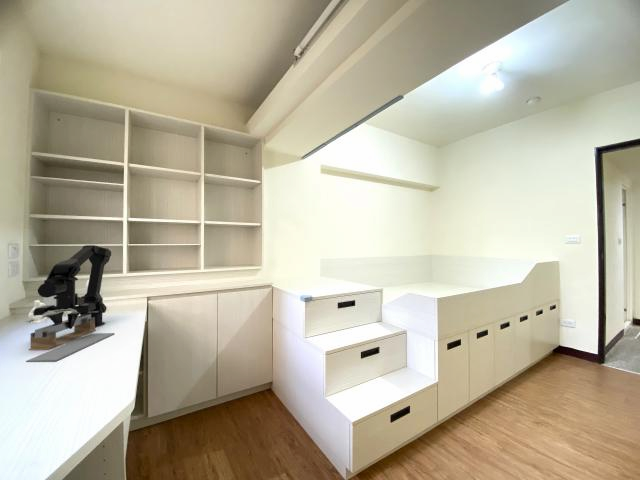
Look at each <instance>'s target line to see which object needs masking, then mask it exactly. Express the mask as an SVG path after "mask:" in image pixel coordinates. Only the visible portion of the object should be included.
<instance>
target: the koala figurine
mask: <svg viewBox="0 0 640 480" xmlns="http://www.w3.org/2000/svg"><path fill="white" fill-rule="evenodd" d="M33 304H34V306H33V308H32V309H30V311H29V313H28V319H29V320H33V321H30V322H31V323H32V322H33V323H41V322H44V321H46V320H47V319H48V318H47V317H44V318H43V316H44V314H43V315H36V316H34V315H33V311H34V310H35V309H36V308H39V307H42V306H46V304H44V302H41V301H40V300H39V299H37V300H33ZM33 323H32V324H33Z"/></svg>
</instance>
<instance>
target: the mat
mask: <svg viewBox="0 0 640 480" xmlns="http://www.w3.org/2000/svg"><path fill="white" fill-rule="evenodd" d="M114 335H115V333H114V332H107V333H106V332H103V333H101V332H100V333H99V332H97V333H96V332H92V333H90V334H87V335H85V336H82V337H80V338H77V339H75V340H73V341H70V342H68V343H65V344H63V345H60V346H58V347H55V348H53V349H50V350H47V351H46V352H44V353H41V354H39V355H37V356H34V357H31V358H29V359H27V360H25V362H26V363H55V362H56V363H57V362H58V361H61V360H63V359H65V358H68V357H69V356H71V355H74V354H75V353H78V352H79V351H81V350H85V349H86V348H89V347H91V346H93V345H95V344H97V343H99V342H101V341H103V340H105V339H108V338H110V337H112V336H114Z"/></svg>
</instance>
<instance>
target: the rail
mask: <svg viewBox="0 0 640 480" xmlns="http://www.w3.org/2000/svg"><path fill="white" fill-rule="evenodd" d="M90 318H91V314H84V315H80V314H79V315H78V317H77V319H76V321H75V323H74V325H73V327H74V326H77V325H79V324H82V323H85V322H88V319H90ZM68 329H69V325H68V319H66V320H65V319H64V320H62V322H59V323H55V324H54V323H53V324H50V325H46V326H43V327H40V328H36V329H34V332H35V338H43V337H46V336H47V333H49V332H52V331H56V334H57V333H59V332H63V331H65V330H68Z"/></svg>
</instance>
